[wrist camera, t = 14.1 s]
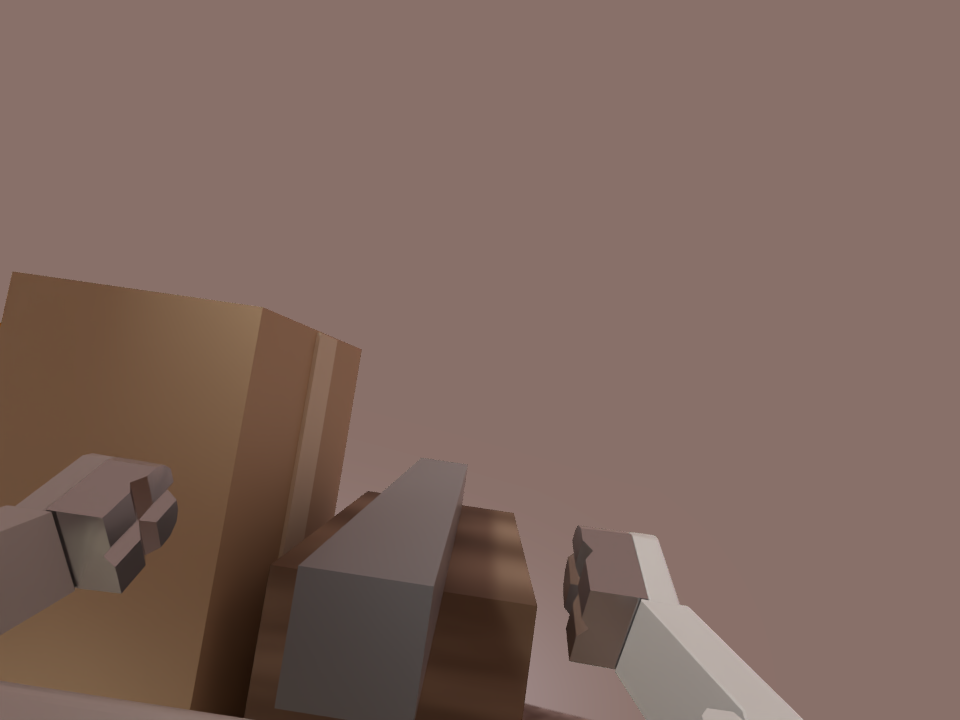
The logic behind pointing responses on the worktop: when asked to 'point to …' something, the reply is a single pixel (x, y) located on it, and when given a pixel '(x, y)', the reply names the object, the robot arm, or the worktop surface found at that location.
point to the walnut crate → (459, 628)
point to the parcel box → (195, 470)
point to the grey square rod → (373, 602)
